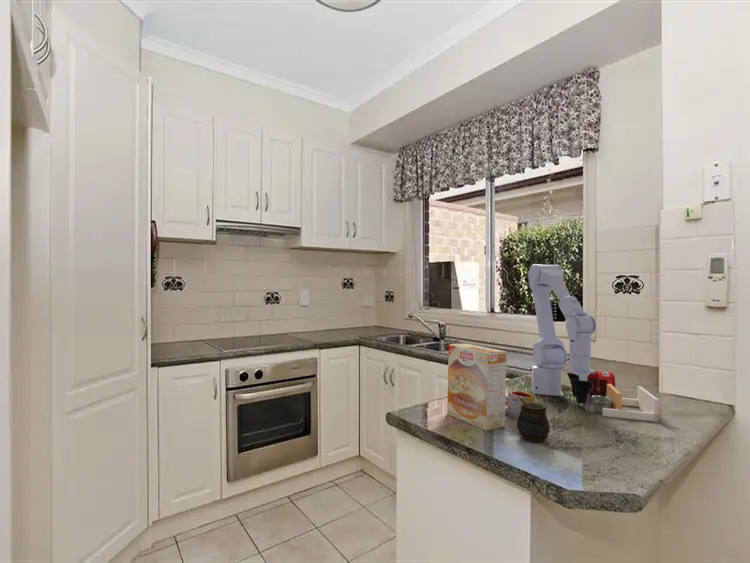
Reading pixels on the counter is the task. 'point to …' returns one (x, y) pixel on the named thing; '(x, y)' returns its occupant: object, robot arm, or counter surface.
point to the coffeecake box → (477, 385)
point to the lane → (643, 401)
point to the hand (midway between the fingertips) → (578, 399)
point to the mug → (516, 403)
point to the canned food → (600, 382)
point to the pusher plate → (614, 397)
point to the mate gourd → (533, 422)
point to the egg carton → (597, 403)
